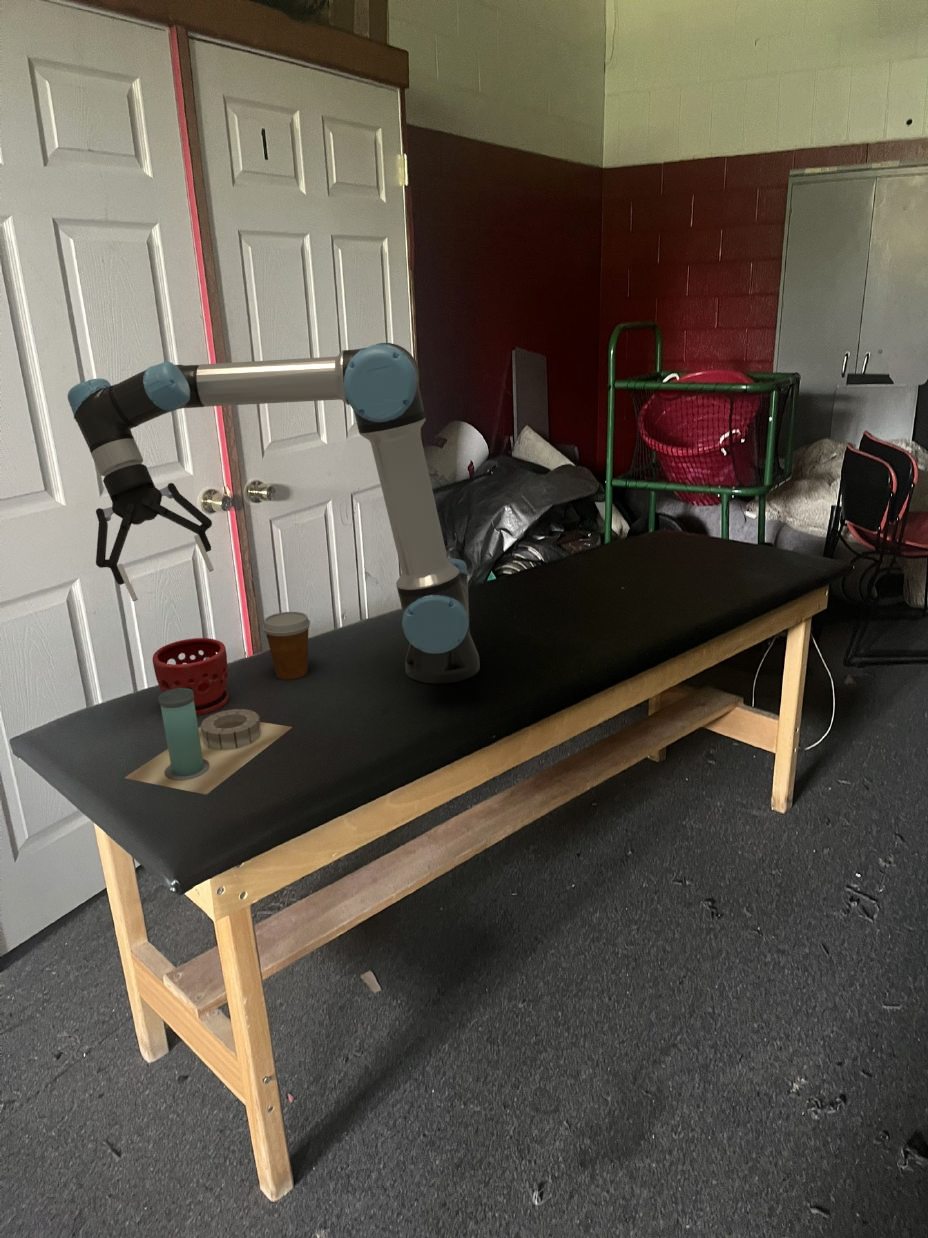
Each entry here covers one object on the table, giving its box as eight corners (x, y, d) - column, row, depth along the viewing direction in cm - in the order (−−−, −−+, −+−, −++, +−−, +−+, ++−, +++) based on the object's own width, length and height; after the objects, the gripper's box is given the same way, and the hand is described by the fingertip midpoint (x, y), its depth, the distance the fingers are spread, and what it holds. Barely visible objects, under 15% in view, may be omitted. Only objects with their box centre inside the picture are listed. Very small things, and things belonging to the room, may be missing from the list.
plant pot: (152, 707, 169) (142, 648, 165) (218, 688, 176) (210, 632, 172) (175, 731, 158) (164, 669, 154) (244, 710, 166) (236, 650, 162)
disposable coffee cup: (259, 680, 179) (252, 624, 175) (284, 662, 187) (277, 609, 183) (300, 685, 176) (294, 628, 172) (323, 667, 184) (318, 612, 180)
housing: (292, 732, 156) (290, 711, 155) (207, 800, 135) (203, 777, 134) (218, 720, 162) (215, 700, 160) (125, 783, 141) (120, 761, 140)
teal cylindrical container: (211, 764, 143) (200, 691, 139) (188, 779, 139) (176, 704, 135) (187, 758, 146) (175, 686, 141) (164, 772, 141) (151, 698, 137)
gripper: (193, 451, 158) (241, 560, 160) (53, 499, 151) (104, 614, 153) (193, 441, 151) (243, 556, 153) (46, 491, 144) (99, 611, 146)
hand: (173, 585), depth 153 cm, fingers open, 13 cm apart
